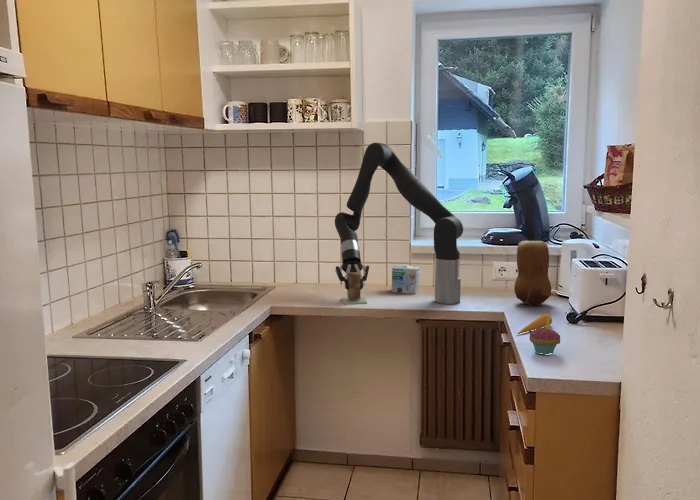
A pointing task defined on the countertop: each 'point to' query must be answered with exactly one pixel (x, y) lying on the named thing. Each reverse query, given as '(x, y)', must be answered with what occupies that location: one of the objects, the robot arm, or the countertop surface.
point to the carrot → (537, 323)
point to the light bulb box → (405, 279)
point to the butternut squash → (532, 272)
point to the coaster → (354, 301)
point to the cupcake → (544, 339)
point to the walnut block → (353, 285)
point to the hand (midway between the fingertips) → (354, 288)
